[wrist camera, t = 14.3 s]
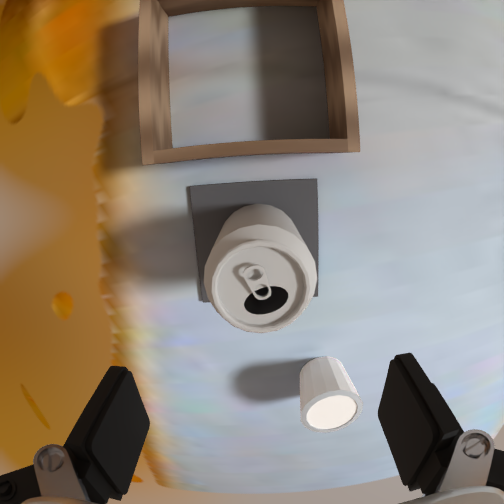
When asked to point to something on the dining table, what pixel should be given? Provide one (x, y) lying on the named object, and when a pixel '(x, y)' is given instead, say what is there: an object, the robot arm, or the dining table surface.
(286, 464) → the dining table surface
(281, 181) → the mat
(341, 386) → the shot glass
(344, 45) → the crate
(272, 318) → the can
